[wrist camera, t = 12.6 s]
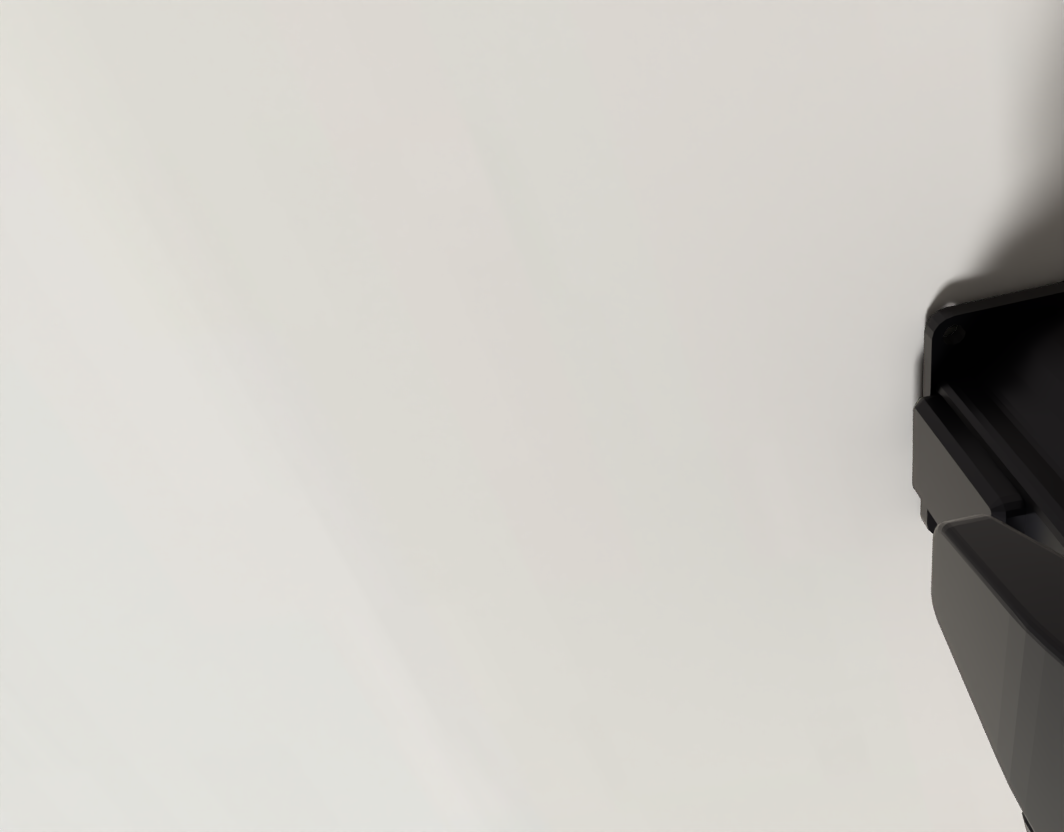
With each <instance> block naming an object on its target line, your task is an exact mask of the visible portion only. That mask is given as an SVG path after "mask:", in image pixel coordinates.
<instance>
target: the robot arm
mask: <svg viewBox="0 0 1064 832" xmlns="http://www.w3.org/2000/svg"><path fill="white" fill-rule="evenodd" d="M954 325H957V328H956V330H955V331H954V332H953V333H952V334H950V335H948V336H943V335H944V332H945V331H946V330H947V329H948V328H949V327H951V326H954ZM912 484H913V488H914V489H915V491H916V492H917V494H918V495H919V497H920V498H921V513H920V514H921V518H922V520H923V522H924V524H925V525H926V527H927V528H928V530H929V531H930V532H932V533H933V548H932V581H931V596H932V603H933V608H934V611H935V615H936V618H937V620H938V623H939V625H940V628H941V630H942V632H943V635H944V637H945V639H946V642H947V644H948V646H949V649H950V651H951V653H952V656H953V658H954V660H955V663H956V665H957V667H958V670H959V672H960V674H961V677H962V679H963V681H964V684H965V686H966V688H967V691H968V693H969V695H970V698H971V700H972V702H973V705H974V707H975V709H976V712H977V714H978V716H979V719H980V721H981V723H982V726H983V728H984V730H985V733H986V735H987V737H988V740H989V742H990V744H991V747H992V749H993V751H994V754H995V756H996V758H997V761H998V763H999V765H1000V767H1001V769H1002V772H1003V774H1004V776H1005V778H1006V780H1007V783H1008V785H1009V787H1010V789H1011V791H1012V792H1013V794H1014V796H1015V798H1016V800H1017V802H1018V804H1019V806H1020V807H1021V809H1022V811H1023V812H1022V815H1023V819H1024V823H1025V827H1026V831H1027V832H1064V282H1060V283H1056V284H1051V285H1047V286H1042V287H1038V288H1033V289H1029V290H1024V291H1019V292H1015V293H1010V294H1006V295H1001V296H997V297H992V298H988V299H983V300H978V301H974V302H969V303H965V304H960V305H956V306H951V307H947V308H944V309H942V310H939V311H937V312H936V313H935V314H934V315H932V316H931V317H930V319H929V320H928V322H927V323H926V327H925V331H924V371H923V397H921V398H919V400H918V402H917V403H916V405H915V407H914V409H913V472H912Z"/></svg>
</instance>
